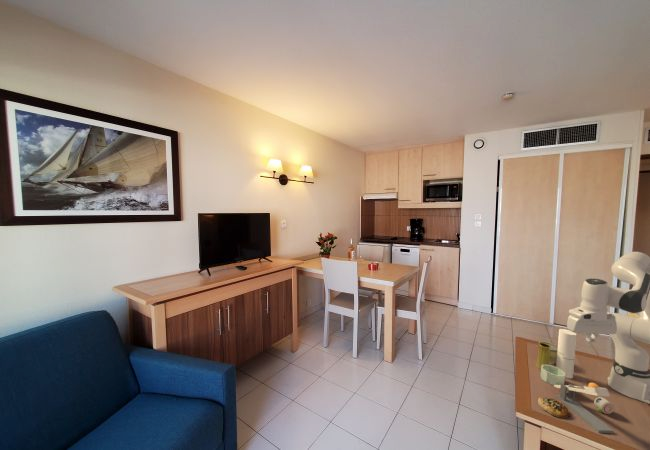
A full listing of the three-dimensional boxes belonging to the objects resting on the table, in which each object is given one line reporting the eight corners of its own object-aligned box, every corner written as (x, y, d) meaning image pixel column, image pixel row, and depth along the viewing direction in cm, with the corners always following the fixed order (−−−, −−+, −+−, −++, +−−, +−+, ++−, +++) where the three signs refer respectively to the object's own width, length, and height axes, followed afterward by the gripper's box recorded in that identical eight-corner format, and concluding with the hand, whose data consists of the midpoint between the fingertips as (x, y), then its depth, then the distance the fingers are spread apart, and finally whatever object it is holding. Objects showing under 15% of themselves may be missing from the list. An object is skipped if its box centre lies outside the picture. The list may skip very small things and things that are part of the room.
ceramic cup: (550, 367, 150) (552, 350, 149) (533, 357, 159) (534, 342, 159) (566, 364, 153) (567, 348, 152) (548, 354, 163) (549, 340, 162)
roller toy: (591, 406, 119) (592, 395, 119) (605, 407, 119) (606, 395, 119) (601, 414, 115) (602, 402, 114) (615, 415, 115) (616, 403, 114)
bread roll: (571, 410, 117) (571, 401, 116) (566, 426, 110) (566, 415, 109) (540, 397, 125) (540, 388, 125) (534, 410, 119) (534, 401, 118)
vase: (552, 372, 145) (554, 348, 144) (540, 370, 146) (541, 347, 145) (545, 365, 151) (546, 343, 150) (533, 364, 152) (535, 341, 151)
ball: (599, 393, 110) (592, 385, 113) (604, 389, 108) (596, 381, 111) (591, 393, 110) (584, 385, 113) (595, 389, 108) (588, 380, 111)
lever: (549, 386, 130) (547, 380, 131) (573, 387, 129) (571, 381, 131) (597, 396, 106) (594, 388, 108) (628, 397, 106) (625, 389, 107)
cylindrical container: (561, 369, 148) (564, 328, 146) (576, 377, 141) (579, 334, 139) (552, 371, 146) (555, 329, 144) (567, 379, 139) (570, 335, 137)
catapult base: (556, 396, 125) (557, 381, 125) (568, 397, 125) (569, 382, 125) (598, 432, 105) (600, 414, 105) (613, 432, 105) (615, 414, 105)
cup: (553, 375, 142) (554, 365, 142) (569, 387, 133) (570, 376, 132) (536, 374, 142) (536, 364, 142) (551, 386, 133) (551, 375, 132)
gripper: (608, 311, 122) (605, 338, 123) (565, 310, 122) (563, 337, 123) (623, 316, 115) (620, 345, 116) (578, 315, 116) (575, 344, 117)
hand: (590, 341), depth 120 cm, fingers closed
